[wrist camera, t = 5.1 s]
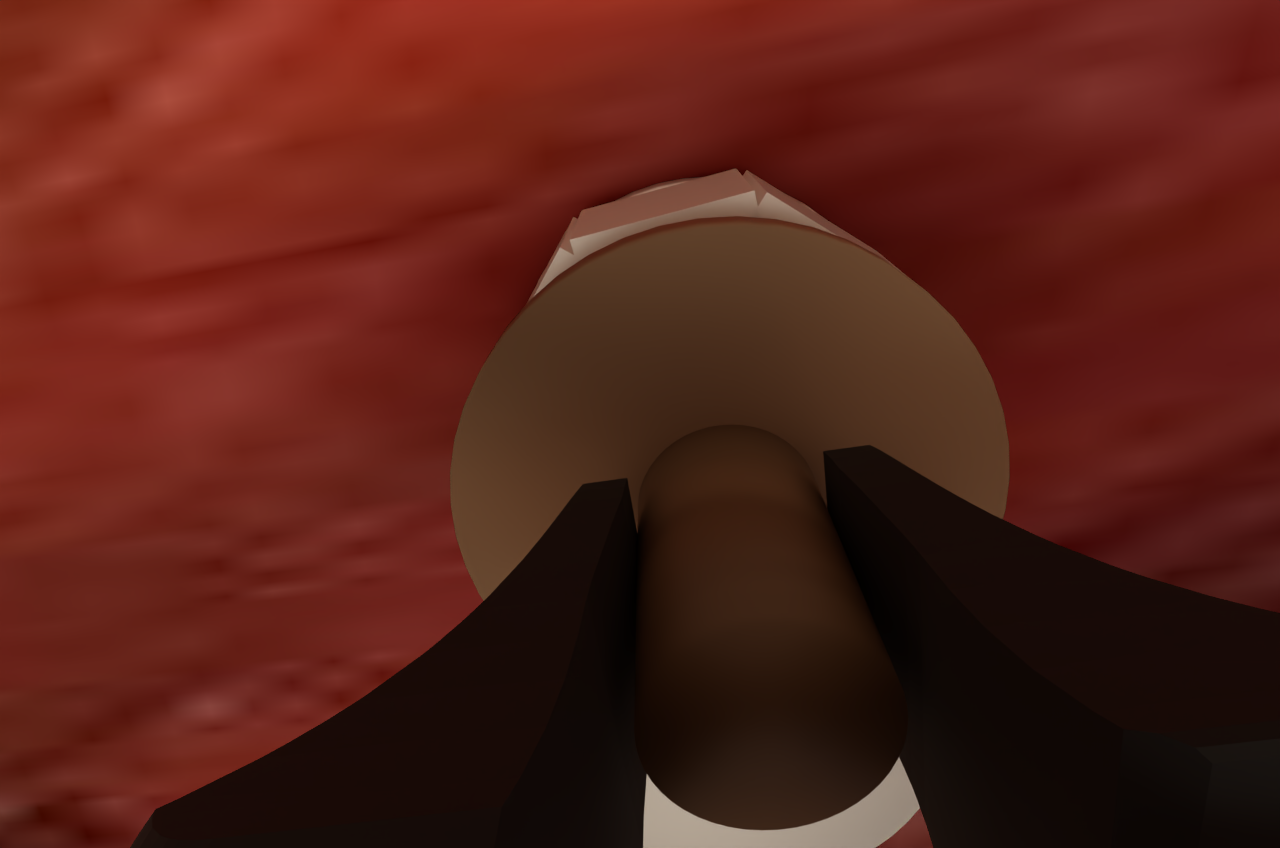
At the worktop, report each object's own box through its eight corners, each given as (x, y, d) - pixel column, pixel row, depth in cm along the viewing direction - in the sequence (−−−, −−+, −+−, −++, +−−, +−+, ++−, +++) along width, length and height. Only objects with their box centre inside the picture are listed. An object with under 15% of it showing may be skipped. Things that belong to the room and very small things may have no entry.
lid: (790, 755, 15) (860, 1080, 10) (378, 560, 13) (226, 837, 8) (1102, 395, 12) (1401, 608, 7) (627, 98, 11) (612, 119, 6)
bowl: (753, 570, 19) (775, 672, 16) (461, 422, 18) (421, 502, 15) (958, 300, 17) (1033, 357, 13) (636, 98, 15) (634, 109, 12)
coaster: (799, 907, 24) (802, 927, 23) (502, 784, 22) (498, 802, 22) (1018, 682, 21) (1029, 699, 20) (690, 514, 19) (692, 527, 18)
